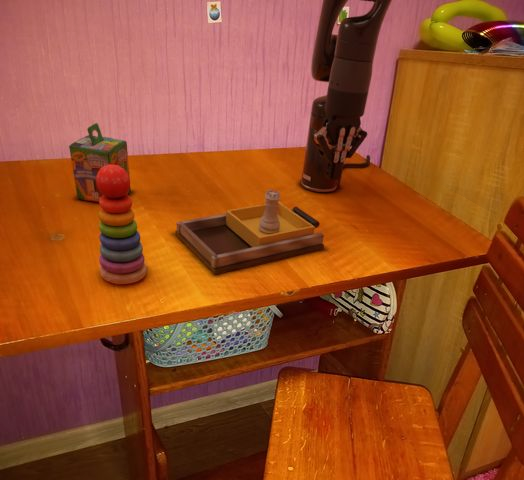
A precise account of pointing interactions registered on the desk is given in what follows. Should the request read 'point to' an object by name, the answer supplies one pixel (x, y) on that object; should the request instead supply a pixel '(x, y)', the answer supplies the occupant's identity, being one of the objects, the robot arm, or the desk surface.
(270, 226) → the rook chess piece
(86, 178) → the chalk box
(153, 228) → the desk surface
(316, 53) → the robot arm
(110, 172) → the stacking toy
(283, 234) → the tray
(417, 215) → the desk surface
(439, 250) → the desk surface
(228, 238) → the base
